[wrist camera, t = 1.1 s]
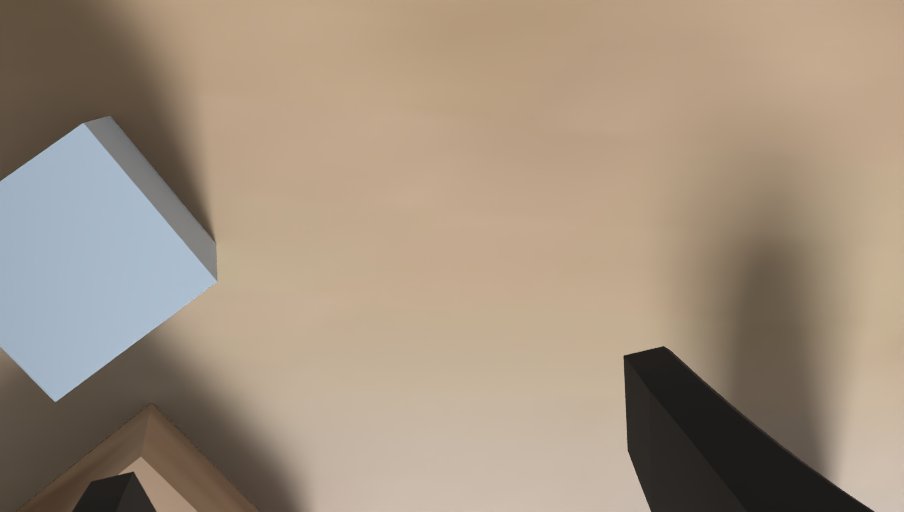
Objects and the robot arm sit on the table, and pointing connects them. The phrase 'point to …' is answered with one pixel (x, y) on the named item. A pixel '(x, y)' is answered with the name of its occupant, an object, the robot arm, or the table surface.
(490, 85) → the table surface
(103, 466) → the walnut block
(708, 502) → the robot arm
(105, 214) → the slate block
